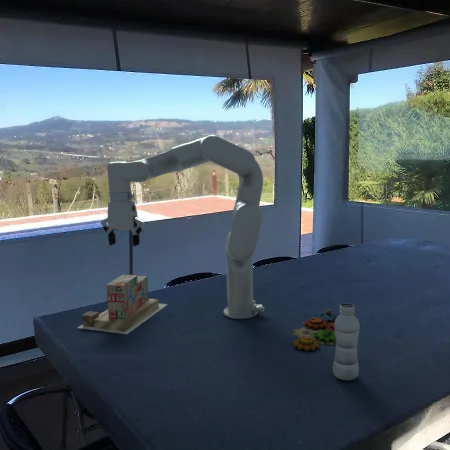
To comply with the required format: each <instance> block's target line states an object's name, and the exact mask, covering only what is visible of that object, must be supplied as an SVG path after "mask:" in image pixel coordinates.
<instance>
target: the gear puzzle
mask: <svg viewBox="0 0 450 450" xmlns="http://www.w3.org/2000/svg"><path fill="white" fill-rule="evenodd" d="M337 317H338V316H337V315H336V314H333V313H332V310H331V309H330V308H329V309H326V310H325V312H318V314H314V315H313V316H312V317H311V318H309V319H308V320H304V322H303V323H302V324H301V325H302V327H301V328H299V329H297V328H294V329H293V330H292V331H291V332H292V334H291V335H292V336H293V337H296V338H297V340H293V341H292V343H293V347H295V348H297V350H304V351H306V352H307V351H310V350H311V351H316V349H320V345H321V346H325V345H328V346H334V344H335V343H336V337H335V330H334V323H335V320H336V319H337ZM335 345H336V344H335Z"/></svg>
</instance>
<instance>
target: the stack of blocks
mask: <svg viewBox="0 0 450 450" xmlns="http://www.w3.org/2000/svg"><path fill="white" fill-rule="evenodd" d="M106 297H107V298H106V299H107V307H108V308H107V310H108V313H109V318H112V319H126V318H127V317H128V316H130V315H131V314H132V313H133V312H134V311H136V309H137V308H139V307H140V306H141V305H142V304H143V303H145V302H146V301H147V300H148V299H150V295H149V283H148V276H147V275H138V274H137V275H136V274H121V275H120V276H118V277H116V278H115V279H113V280H112V281H110V282H108V283H107V284H106Z"/></svg>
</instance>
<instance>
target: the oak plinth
mask: <svg viewBox="0 0 450 450" xmlns="http://www.w3.org/2000/svg"><path fill="white" fill-rule="evenodd" d="M159 304H160V301H159V298H158V299H156V298H149V299H148V300H147V301H146V302H145V303H143V304H142V305H141V306H140V307H139V308H137V309H136V311H134V312H133V313H132V314H131V315H130V316H128V317H127V318H126V319H112V318H109V313H108V311H107V312H106V313H104V314H102V315H101V316H99V317H97V318H96V319H94V328H99V329H107V330H115V331H123V332H125V331H126V330H127V329H129V328H130V327H132V326H133V325H134V324H136V323H137V322H139V321H140V320H141V319H143V318H144V317H146V316H147V315H148V314H150V313H151V312H153V311H154V310H155V309H157V308H158V307H159Z"/></svg>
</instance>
